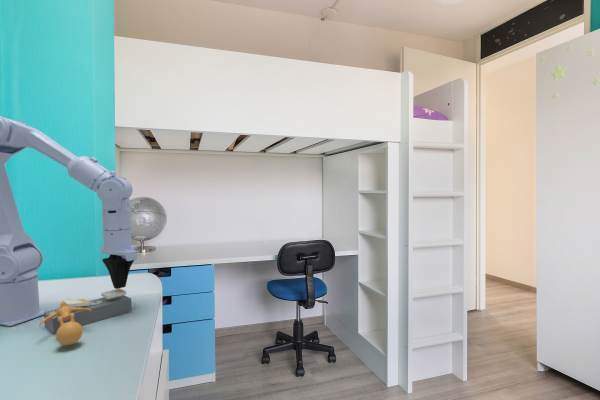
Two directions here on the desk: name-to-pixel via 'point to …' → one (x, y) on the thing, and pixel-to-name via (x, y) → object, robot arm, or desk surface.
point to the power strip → (92, 312)
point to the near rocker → (77, 303)
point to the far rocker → (113, 293)
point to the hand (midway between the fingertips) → (119, 287)
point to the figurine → (67, 325)
